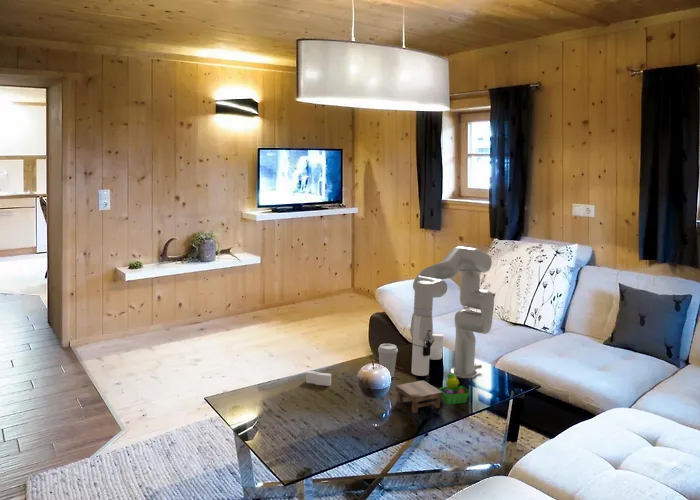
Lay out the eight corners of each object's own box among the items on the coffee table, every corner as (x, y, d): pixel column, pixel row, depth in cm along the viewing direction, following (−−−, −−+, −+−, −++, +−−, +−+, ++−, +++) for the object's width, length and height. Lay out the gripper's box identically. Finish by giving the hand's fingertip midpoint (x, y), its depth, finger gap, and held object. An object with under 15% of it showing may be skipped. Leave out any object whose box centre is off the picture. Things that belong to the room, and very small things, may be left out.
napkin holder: (338, 385, 259) (338, 373, 258) (318, 392, 251) (318, 379, 250) (317, 376, 270) (317, 364, 269) (298, 381, 262) (298, 369, 261)
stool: (422, 395, 249) (423, 380, 248) (441, 408, 237) (442, 392, 236) (395, 400, 243) (395, 385, 242) (413, 414, 231) (414, 397, 230)
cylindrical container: (413, 375, 234) (415, 316, 230) (409, 369, 241) (412, 312, 237) (430, 375, 235) (433, 316, 231) (426, 369, 242) (429, 312, 238)
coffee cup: (397, 373, 274) (398, 343, 272) (396, 381, 265) (398, 350, 262) (377, 372, 275) (378, 342, 273) (376, 379, 266) (377, 348, 263)
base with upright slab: (424, 358, 296) (425, 336, 294) (425, 353, 304) (426, 331, 302) (442, 360, 294) (443, 337, 292) (442, 354, 303) (443, 332, 301)
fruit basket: (445, 406, 239) (447, 380, 237) (436, 397, 248) (438, 372, 246) (470, 403, 242) (471, 378, 240) (460, 395, 251) (462, 371, 249)
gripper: (403, 306, 240) (401, 347, 243) (427, 317, 225) (425, 360, 227) (418, 305, 243) (416, 345, 246) (443, 315, 228) (440, 358, 231)
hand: (420, 352), depth 237 cm, fingers closed on cylindrical container, 7 cm apart
